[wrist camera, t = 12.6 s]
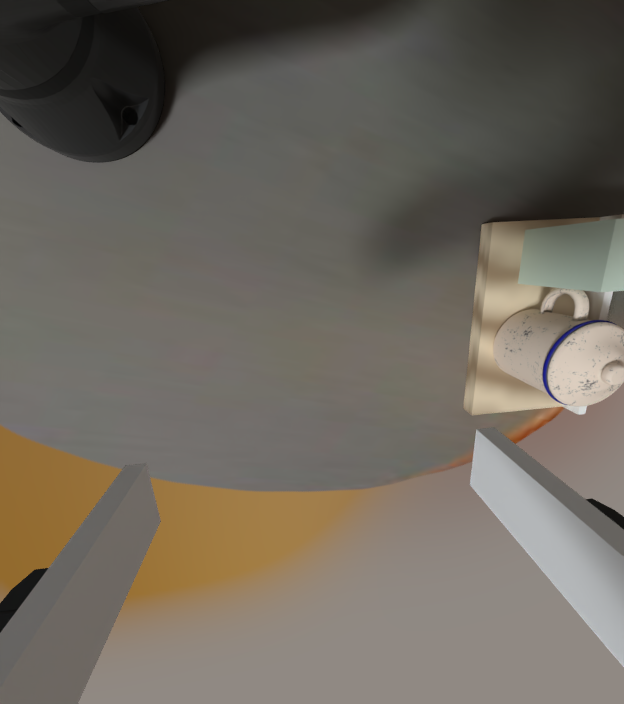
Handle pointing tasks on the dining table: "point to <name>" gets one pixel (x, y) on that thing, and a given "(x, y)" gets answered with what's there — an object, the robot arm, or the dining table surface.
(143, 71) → the robot arm
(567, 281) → the tin
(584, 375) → the teacup with lid
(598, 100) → the dining table surface
